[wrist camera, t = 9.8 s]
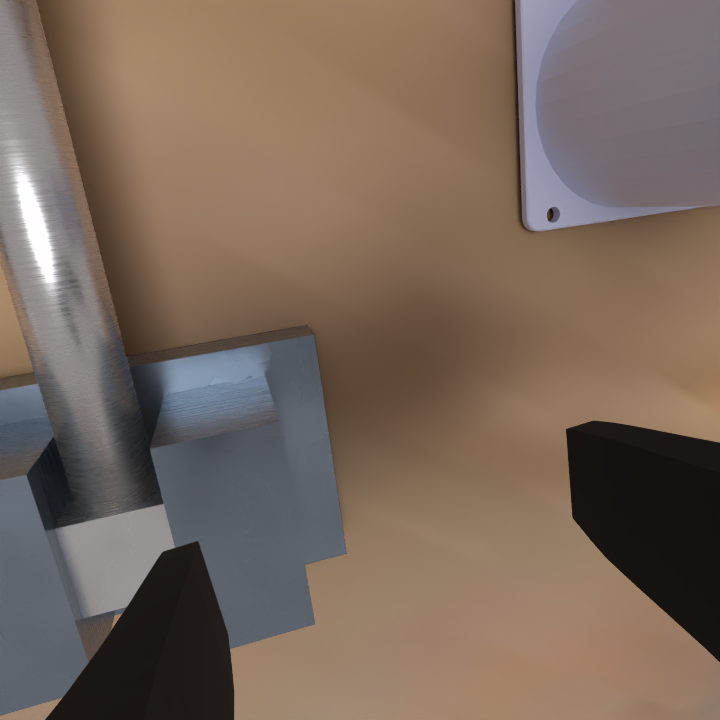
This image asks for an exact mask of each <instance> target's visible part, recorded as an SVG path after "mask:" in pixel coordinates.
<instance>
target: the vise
mask: <svg viewBox="0 0 720 720" xmlns="http://www.w3.org/2000/svg"><path fill="white" fill-rule="evenodd" d="M0 262H1V266H2V269H3V272H4V275H5V279H6V282H7V285H8V288H9V292H10V295H11V298H12V301H13V305H14V308H15V311H16V314H17V318H18V321H19V324H20V327H21V331H22V334H23V337H24V340H25V344H26V347H27V350H28V353H29V357H30V360H31V363H32V366H33V370H34V373H29V374H23V375H17V376H11V377H6V378H0V715H4V714H7V713H11V712H14V711H18V710H21V709H25V708H28V707H31V706H35V705H38V704H42V703H45V702H49V701H52V700H56V699H59V698H62V697H64V695H65V694H66V693H67V691H68V690H69V689H70V687H71V686H72V685H73V683H74V682H75V680H76V679H77V678H78V676H79V675H80V674H81V672H82V671H83V670H84V668H85V667H86V665H87V664H88V663H89V661H90V660H91V659H92V657H93V656H94V655H95V653H96V652H97V650H98V649H99V648H100V646H101V645H102V644H103V642H104V641H105V639H106V638H107V636H108V635H109V633H110V632H111V628H112V624H113V619H114V615H117V614H121V613H123V612H124V611H125V609H126V607H127V606H128V604H129V603H130V601H131V600H132V598H133V597H134V595H135V593H136V592H137V590H138V589H139V587H140V585H141V584H142V582H143V581H144V579H145V578H146V576H147V574H148V573H149V571H150V570H151V568H152V567H153V565H154V564H155V562H156V561H157V559H158V558H159V556H160V555H161V553H162V552H163V551H166V550H170V549H173V548H176V547H179V546H183V545H186V544H189V543H193V542H196V541H198V542H199V545H200V548H201V551H202V554H203V557H204V560H205V563H206V566H207V570H208V573H209V576H210V579H211V582H212V585H213V588H214V591H215V594H216V598H217V601H218V604H219V607H220V610H221V613H222V616H223V619H224V622H225V626H226V629H227V632H228V636H229V645H230V649H231V648H235V647H238V646H242V645H245V644H249V643H252V642H255V641H259V640H262V639H266V638H269V637H273V636H276V635H280V634H283V633H286V632H290V631H293V630H297V629H300V628H304V627H307V626H311V625H314V624H315V620H314V615H313V609H312V603H311V598H310V592H309V586H308V580H307V575H306V569H305V564H309V563H313V562H317V561H320V560H324V559H328V558H332V557H335V556H339V555H343V554H347V553H346V546H345V539H344V532H343V526H342V519H341V512H340V505H339V499H338V492H337V485H336V478H335V472H334V465H333V458H332V451H331V445H330V438H329V431H328V424H327V418H326V411H325V404H324V397H323V391H322V384H321V377H320V370H319V364H318V357H317V350H316V343H315V337H314V334H313V333H312V331H311V330H310V329H309V328H308V327H307V325H306V326H300V327H294V328H289V329H283V330H277V331H271V332H266V333H260V334H254V335H248V336H242V337H237V338H231V339H225V340H219V341H214V342H208V343H202V344H196V345H190V346H185V347H179V348H173V349H167V350H162V351H156V352H150V353H144V354H138V355H133V356H126V352H125V348H124V344H123V340H122V336H121V332H120V328H119V325H118V321H117V317H116V313H115V309H114V305H113V301H112V297H111V293H110V289H109V285H108V281H107V277H106V273H105V269H104V265H103V262H102V258H101V254H100V250H99V246H98V242H97V238H96V234H95V230H94V226H93V222H92V218H91V214H90V210H89V206H88V202H87V199H86V195H85V191H84V187H83V183H82V179H81V175H80V171H79V167H78V163H77V159H76V155H75V151H74V147H73V143H72V139H71V135H70V132H69V128H68V124H67V120H66V116H65V112H64V108H63V104H62V100H61V96H60V92H59V88H58V84H57V80H56V76H55V72H54V69H53V65H52V61H51V57H50V53H49V49H48V45H47V41H46V37H45V33H44V29H43V25H42V21H41V17H40V13H39V9H38V5H37V2H36V0H0Z"/></svg>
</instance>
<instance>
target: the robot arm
mask: <svg viewBox="0 0 720 720" xmlns="http://www.w3.org/2000/svg"><path fill="white" fill-rule="evenodd" d="M515 10H516V41H517V72H518V104H519V135H520V166H521V197H522V220H523V224H524V226H525V227H526V228H527V229H528V230H530V231H546V230H553V229H559V228H566V227H573V226H579V225H586V224H593V223H599V222H606V221H613V220H619V219H626V218H633V217H639V216H646V215H653V214H659V213H666V212H673V211H679V210H686V209H692V208H699V207H706V206H720V0H515ZM550 208H551V209H552V210H553V213H554V214H553V218H552V220H551V221H548V220H547V211H548V210H549V209H550ZM566 435H567V448H568V462H569V475H570V489H571V503H572V516H573V519H574V520H575V521H576V522H577V524H578V525H579V526H580V527H581V529H582V530H583V531H584V532H585V534H586V535H587V536H588V537H589V539H590V540H591V541H592V542H593V543H594V544H595V545H596V547H597V548H598V549H599V550H600V551H601V552H602V553H603V555H604V556H605V557H606V558H607V559H608V560H609V561H610V562H611V563H612V564H613V565H614V566H615V567H616V568H618V569H619V570H620V571H621V572H622V573H623V574H624V575H625V576H626V577H627V578H628V579H629V580H631V581H632V582H633V583H634V584H635V585H636V586H637V587H638V588H639V589H640V590H641V591H643V592H644V593H645V594H646V595H647V596H648V597H649V598H650V599H651V600H653V601H654V602H655V603H656V604H657V605H658V606H659V607H660V608H661V609H663V610H664V611H665V612H666V613H667V614H668V615H669V616H670V617H671V618H672V619H674V620H675V621H676V622H677V623H678V624H679V625H680V626H681V627H682V628H684V629H685V630H686V631H687V632H688V633H689V634H690V635H691V636H692V637H693V638H695V639H696V640H697V641H698V642H699V643H700V644H701V645H702V646H703V647H705V648H706V649H707V650H708V651H709V652H710V653H711V654H712V655H713V656H714V657H715V658H716V659H717V660H718V661H719V662H720V443H718V442H713V441H708V440H703V439H697V438H692V437H687V436H682V435H677V434H672V433H667V432H662V431H657V430H651V429H646V428H641V427H636V426H630V425H624V424H618V423H611V422H602V421H591V422H587V423H584V424H581V425H578V426H574V427H571V428H568V429H566ZM45 720H234V685H233V674H232V664H231V654H230V645H229V636H228V632H227V629H226V626H225V622H224V619H223V616H222V613H221V610H220V607H219V604H218V601H217V598H216V594H215V591H214V588H213V585H212V582H211V579H210V576H209V573H208V570H207V566H206V563H205V560H204V557H203V554H202V551H201V548H200V545H199V542H198V541H196V542H193V543H189V544H186V545H183V546H179V547H176V548H173V549H170V550H166V551H163V552H162V553H161V555H160V556H159V558H158V559H157V561H156V562H155V564H154V565H153V567H152V568H151V570H150V571H149V573H148V574H147V576H146V578H145V579H144V581H143V582H142V584H141V585H140V587H139V589H138V590H137V592H136V593H135V595H134V597H133V598H132V600H131V601H130V603H129V604H128V606H127V607H126V609H125V611H124V612H123V614H122V615H121V617H120V618H119V620H118V621H117V623H116V624H115V626H114V627H113V629H112V630H111V632H110V633H109V635H108V636H107V638H106V639H105V641H104V642H103V644H102V645H101V646H100V648H99V649H98V650H97V652H96V653H95V655H94V656H93V657H92V659H91V660H90V661H89V663H88V664H87V665H86V667H85V668H84V670H83V671H82V672H81V674H80V675H79V676H78V678H77V679H76V680H75V682H74V683H73V685H72V686H71V687H70V689H69V690H68V691H67V693H66V694H65V695H64V697H63V698H62V699H61V701H60V702H59V703H58V704H57V706H56V707H55V708H54V710H53V711H52V712H51V713H50V715H49V716H48V717H47V718H46V719H45Z"/></svg>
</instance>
